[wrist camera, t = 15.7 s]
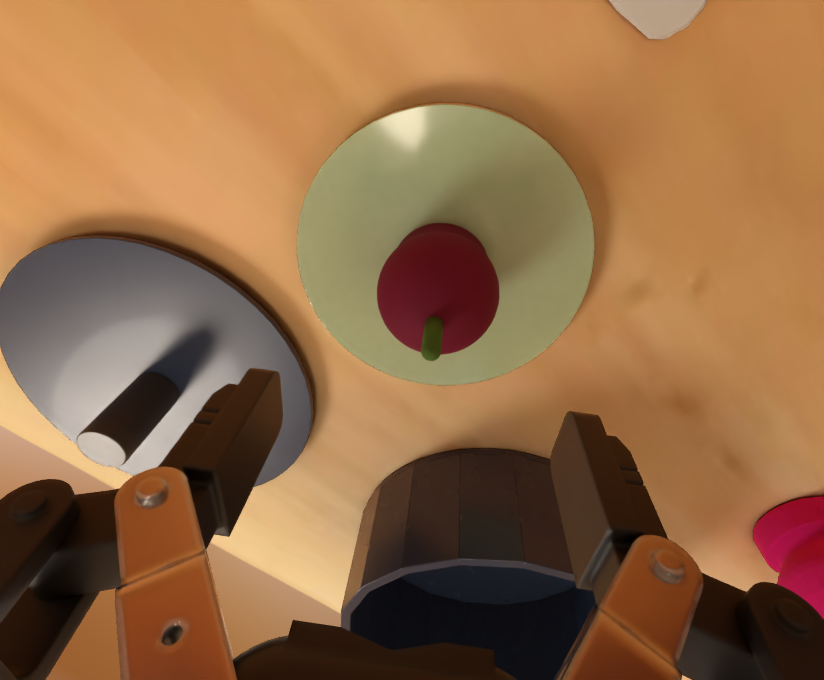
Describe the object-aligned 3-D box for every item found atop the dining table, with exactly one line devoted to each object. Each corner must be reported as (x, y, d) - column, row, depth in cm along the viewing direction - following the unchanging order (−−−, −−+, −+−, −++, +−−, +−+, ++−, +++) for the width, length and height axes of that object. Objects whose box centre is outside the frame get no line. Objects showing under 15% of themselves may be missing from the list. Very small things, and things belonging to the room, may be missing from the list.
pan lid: (312, 256, 22) (267, 313, 17) (319, 498, 33) (292, 579, 28) (-49, 209, 23) (-194, 251, 18) (70, 461, 33) (-1, 533, 28)
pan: (657, 469, 28) (713, 590, 21) (571, 616, 38) (593, 728, 31) (369, 428, 28) (341, 534, 22) (360, 583, 38) (339, 687, 32)
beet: (506, 223, 20) (525, 298, 13) (484, 323, 22) (492, 423, 16) (390, 208, 20) (356, 276, 14) (383, 310, 23) (352, 404, 16)
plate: (636, 123, 18) (643, 125, 17) (546, 392, 25) (549, 401, 25) (294, 83, 18) (288, 84, 18) (306, 359, 26) (302, 367, 25)
